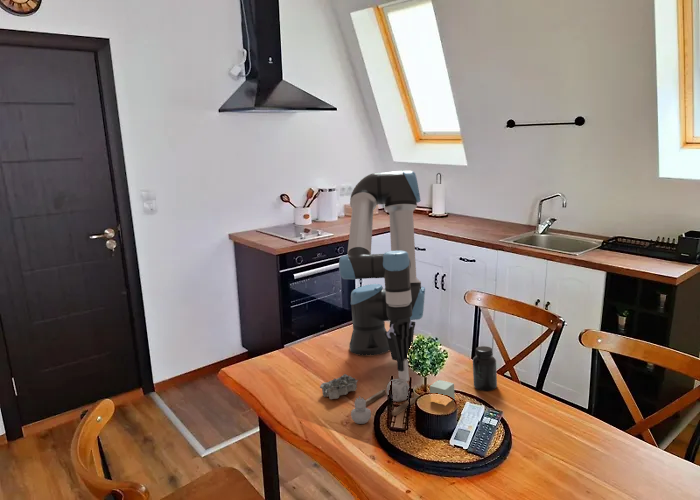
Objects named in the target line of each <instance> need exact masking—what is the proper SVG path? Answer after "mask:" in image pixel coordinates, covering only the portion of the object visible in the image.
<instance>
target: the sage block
mask: <svg viewBox="0 0 700 500" xmlns="http://www.w3.org/2000/svg"><path fill="white" fill-rule="evenodd" d="M430 393H438V394H443V395H448V396H450V397H452V398H453V399H454V400H453V401H455V399H456V395H455V383H454V382H450V381H446V380H442V379H441V380H440V379H438V380H437V381H435V382H433V383H432V384H431V385H429V394H430Z"/></svg>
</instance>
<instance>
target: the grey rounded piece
mask: <svg viewBox="0 0 700 500" xmlns="http://www.w3.org/2000/svg"><path fill="white" fill-rule="evenodd" d="M358 395H359V394H358ZM365 400H366V399H364V397H361V396H360V395H359V396H358V397H356V398H355V400H354V403H353V404H354V408H353V409H352V410H351V411H350V416H351V417H350V418H351V420H352V421H353V422H354V423H356V424H359V425H363V424H366V423H368V422H369V421H370V420H371V418H372V411H371V409H370V408H368V407H367V406H366V402H365Z"/></svg>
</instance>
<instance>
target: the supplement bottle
mask: <svg viewBox="0 0 700 500" xmlns="http://www.w3.org/2000/svg"><path fill="white" fill-rule="evenodd" d="M493 354H494V353H493V348H492V347H490V346H484V345H482V346H477V347H476V348H475V356H474V357H473V358H472V376H473V386H474V388H475V389H477V390H479V391H483V392H491V391H494V390H495V389H496V388H497V387H498V379H497V378H498V376H497V374H498V373H497V359H496V358H495V356H494V355H493Z"/></svg>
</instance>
